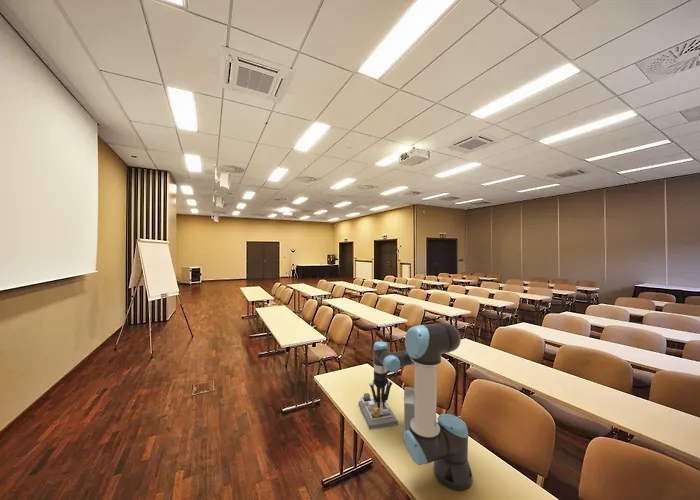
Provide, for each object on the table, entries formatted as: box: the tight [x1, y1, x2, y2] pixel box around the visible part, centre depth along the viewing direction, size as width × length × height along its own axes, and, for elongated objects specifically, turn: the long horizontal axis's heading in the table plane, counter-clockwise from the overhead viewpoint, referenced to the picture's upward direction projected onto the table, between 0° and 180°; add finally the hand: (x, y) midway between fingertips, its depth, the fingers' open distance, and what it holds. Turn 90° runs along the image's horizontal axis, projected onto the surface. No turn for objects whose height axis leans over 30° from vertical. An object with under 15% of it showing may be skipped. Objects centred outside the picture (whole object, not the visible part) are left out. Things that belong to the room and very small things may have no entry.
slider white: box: [368, 401, 375, 412], centre depth 151 cm, size 3×3×4 cm
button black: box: [363, 393, 371, 402], centre depth 156 cm, size 4×4×3 cm
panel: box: [358, 394, 399, 430], centre depth 151 cm, size 22×16×5 cm
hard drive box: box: [403, 386, 414, 444], centre depth 135 cm, size 16×8×20 cm, turn 168°
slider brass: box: [373, 407, 380, 418], centre depth 145 cm, size 3×3×4 cm
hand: (380, 412), depth 146 cm, fingers closed
